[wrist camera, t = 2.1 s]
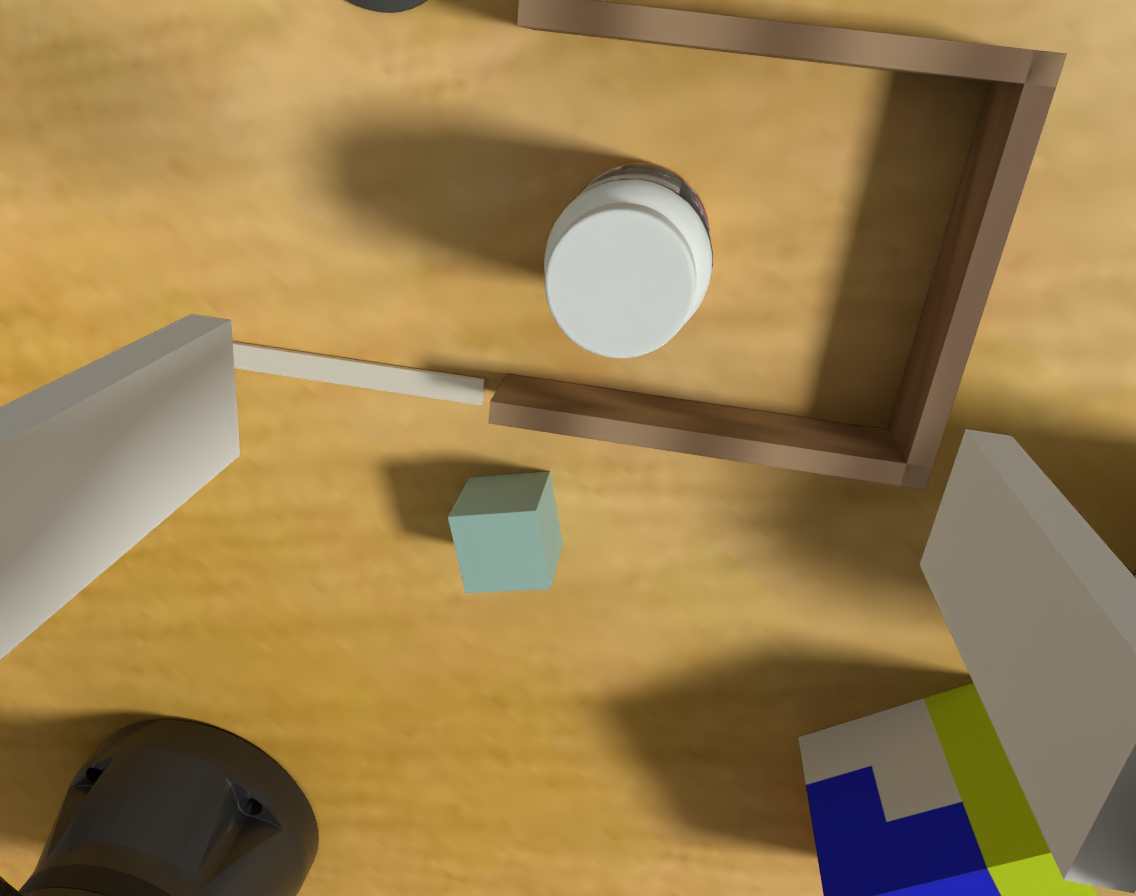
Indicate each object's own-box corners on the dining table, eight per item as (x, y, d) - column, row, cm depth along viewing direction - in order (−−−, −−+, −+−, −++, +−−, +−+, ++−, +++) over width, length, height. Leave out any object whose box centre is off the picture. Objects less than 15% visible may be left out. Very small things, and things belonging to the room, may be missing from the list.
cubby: (505, 394, 38) (488, 423, 35) (536, 0, 32) (519, -8, 28) (905, 453, 37) (925, 489, 34) (1027, 55, 30) (1066, 53, 27)
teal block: (485, 547, 42) (465, 593, 38) (469, 476, 40) (447, 516, 37) (563, 543, 41) (550, 588, 38) (550, 470, 40) (536, 510, 36)
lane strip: (234, 365, 40) (231, 367, 39) (233, 341, 39) (229, 343, 39) (483, 403, 39) (481, 405, 38) (484, 378, 38) (483, 380, 38)
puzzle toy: (798, 736, 44) (825, 907, 35) (990, 676, 41) (1075, 846, 32) (870, 863, 47) (912, 1051, 38) (1054, 816, 44) (1148, 1008, 35)
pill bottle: (706, 300, 35) (711, 378, 26) (571, 299, 36) (532, 375, 27) (711, 158, 33) (719, 190, 24) (567, 160, 34) (523, 193, 25)
